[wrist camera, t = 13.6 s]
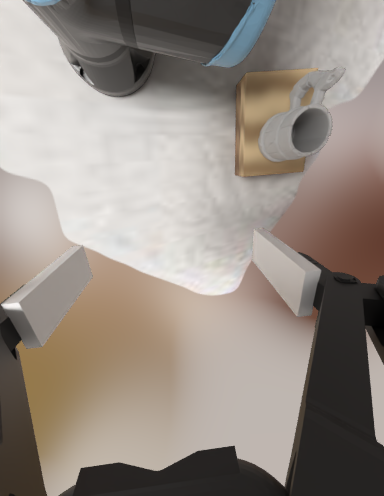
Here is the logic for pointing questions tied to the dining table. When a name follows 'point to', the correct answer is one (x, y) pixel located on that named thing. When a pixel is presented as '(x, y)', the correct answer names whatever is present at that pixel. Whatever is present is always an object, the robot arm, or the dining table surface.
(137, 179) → the dining table surface
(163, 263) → the dining table surface
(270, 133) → the mug
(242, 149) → the wooden block
